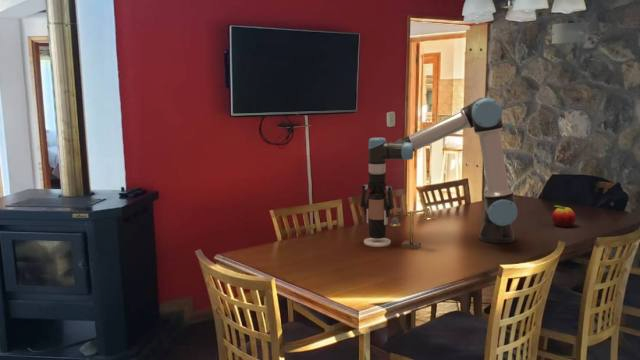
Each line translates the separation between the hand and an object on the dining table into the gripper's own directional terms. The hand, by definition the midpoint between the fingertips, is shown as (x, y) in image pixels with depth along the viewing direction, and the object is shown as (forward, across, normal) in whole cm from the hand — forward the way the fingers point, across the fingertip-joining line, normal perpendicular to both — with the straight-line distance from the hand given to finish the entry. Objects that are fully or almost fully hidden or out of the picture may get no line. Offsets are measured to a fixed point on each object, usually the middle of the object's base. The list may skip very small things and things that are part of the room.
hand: (377, 223), depth 253 cm
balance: (+9, -16, 0) cm, 18 cm away
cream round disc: (+9, 0, 0) cm, 9 cm away
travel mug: (+6, 0, 0) cm, 6 cm away
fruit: (+10, -72, -67) cm, 99 cm away
